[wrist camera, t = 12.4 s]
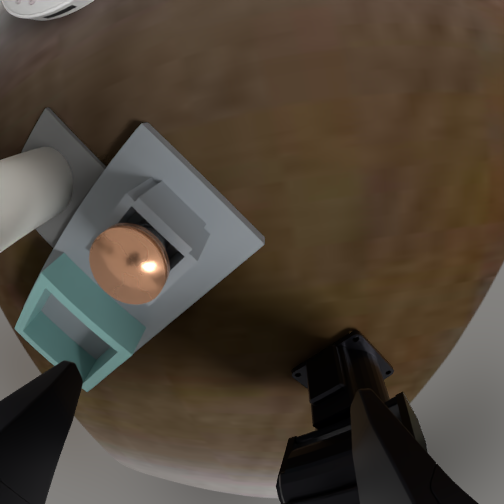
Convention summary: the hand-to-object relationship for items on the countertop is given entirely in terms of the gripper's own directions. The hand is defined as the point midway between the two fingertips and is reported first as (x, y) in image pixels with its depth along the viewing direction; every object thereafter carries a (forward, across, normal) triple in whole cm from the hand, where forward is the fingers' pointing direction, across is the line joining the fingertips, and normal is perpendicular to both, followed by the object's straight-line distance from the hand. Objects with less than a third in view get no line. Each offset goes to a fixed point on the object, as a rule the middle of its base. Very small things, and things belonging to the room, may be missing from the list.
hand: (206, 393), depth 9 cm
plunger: (+11, +5, -1) cm, 12 cm away
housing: (+12, +9, +4) cm, 16 cm away
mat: (+12, +14, -4) cm, 19 cm away
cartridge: (+12, +14, -4) cm, 18 cm away
